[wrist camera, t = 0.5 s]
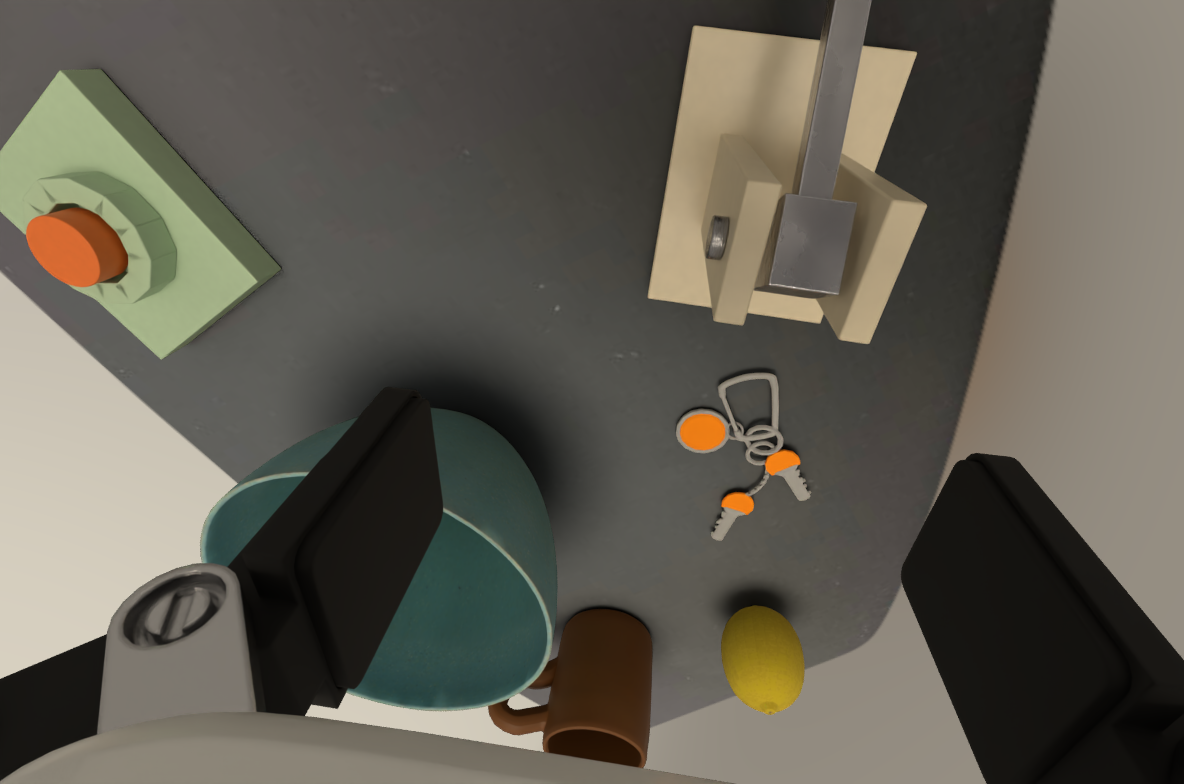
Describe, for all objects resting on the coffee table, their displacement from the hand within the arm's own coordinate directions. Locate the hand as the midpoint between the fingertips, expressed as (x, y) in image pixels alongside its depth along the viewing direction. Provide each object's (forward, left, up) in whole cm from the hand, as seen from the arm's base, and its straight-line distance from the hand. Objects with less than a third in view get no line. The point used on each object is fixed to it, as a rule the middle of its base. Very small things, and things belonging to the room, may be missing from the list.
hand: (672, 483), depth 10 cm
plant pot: (+7, -21, -21) cm, 30 cm away
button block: (-15, -26, -21) cm, 36 cm away
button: (-15, -26, -17) cm, 34 cm away
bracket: (+1, +4, -21) cm, 21 cm away
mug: (+26, -23, -21) cm, 40 cm away
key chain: (+16, -4, -21) cm, 26 cm away
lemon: (+29, -9, -21) cm, 37 cm away
